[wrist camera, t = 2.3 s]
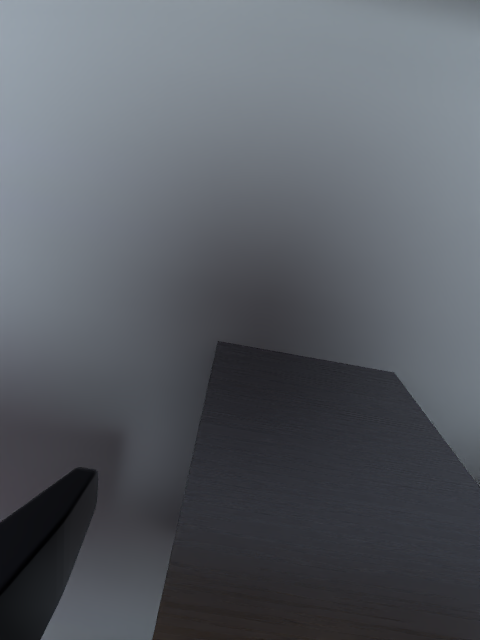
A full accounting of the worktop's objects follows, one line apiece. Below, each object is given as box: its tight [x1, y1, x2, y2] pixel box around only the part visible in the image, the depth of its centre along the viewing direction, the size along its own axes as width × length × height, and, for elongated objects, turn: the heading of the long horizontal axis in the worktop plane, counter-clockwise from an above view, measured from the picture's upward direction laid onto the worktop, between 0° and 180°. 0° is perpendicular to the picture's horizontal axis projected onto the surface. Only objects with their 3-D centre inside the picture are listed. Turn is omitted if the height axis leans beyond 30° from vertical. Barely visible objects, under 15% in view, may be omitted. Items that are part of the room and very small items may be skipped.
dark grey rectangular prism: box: [152, 341, 480, 640], centre depth 6 cm, size 4×6×7 cm, turn 170°
